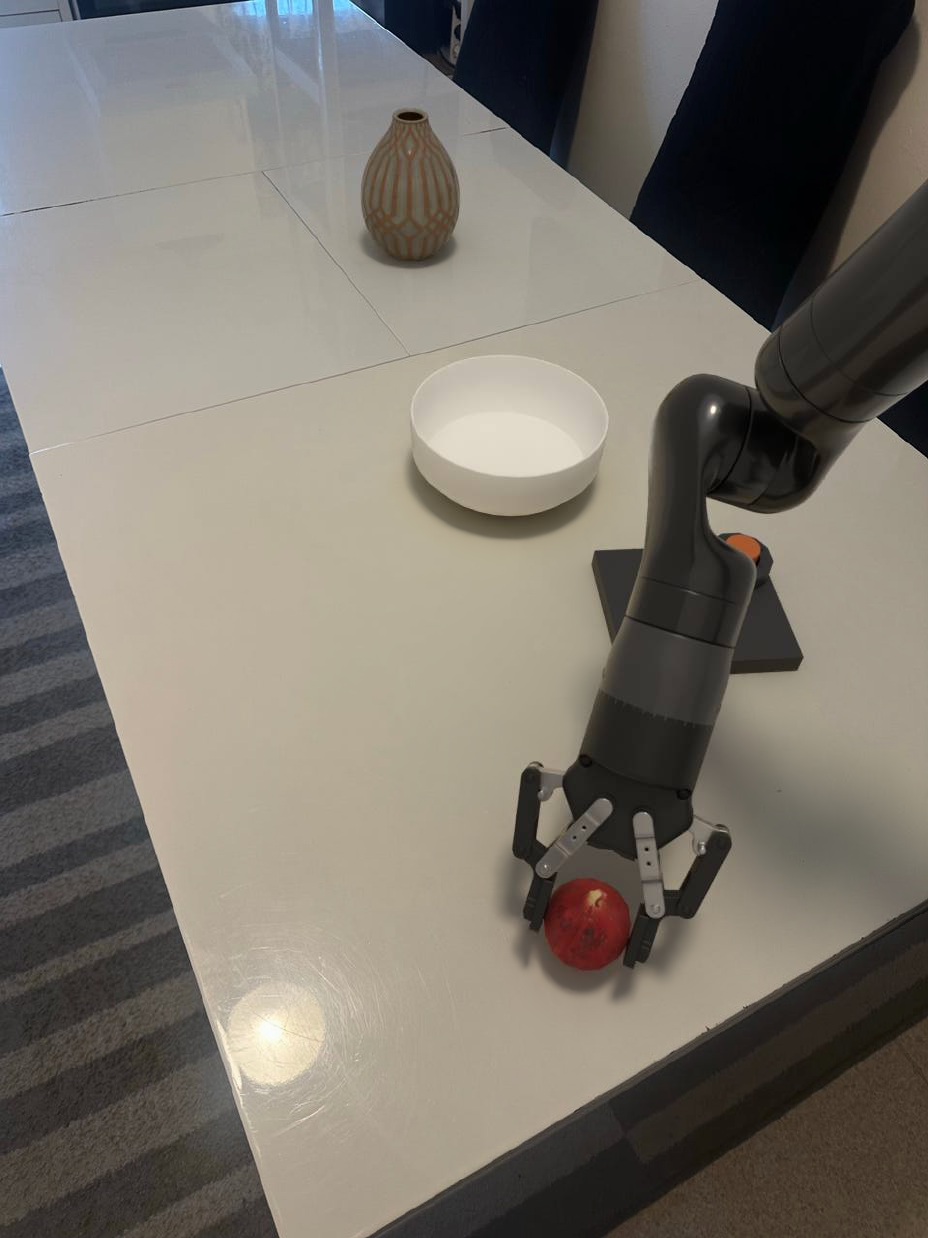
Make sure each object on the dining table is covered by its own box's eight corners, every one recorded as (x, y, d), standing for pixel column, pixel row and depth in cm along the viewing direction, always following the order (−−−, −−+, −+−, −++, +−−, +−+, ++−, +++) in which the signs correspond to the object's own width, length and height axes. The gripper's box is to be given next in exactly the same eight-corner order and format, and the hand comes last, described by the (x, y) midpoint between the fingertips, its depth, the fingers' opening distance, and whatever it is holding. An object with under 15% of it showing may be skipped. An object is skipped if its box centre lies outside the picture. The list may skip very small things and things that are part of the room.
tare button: (750, 545, 87) (754, 533, 86) (760, 569, 85) (765, 558, 84) (717, 546, 87) (721, 534, 86) (726, 571, 85) (731, 559, 84)
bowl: (513, 573, 88) (521, 508, 81) (371, 476, 96) (367, 410, 89) (633, 477, 97) (649, 412, 91) (494, 397, 106) (500, 332, 99)
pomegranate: (610, 999, 62) (630, 955, 56) (528, 970, 63) (539, 924, 57) (629, 919, 65) (649, 870, 59) (551, 893, 66) (563, 842, 60)
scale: (751, 556, 90) (761, 531, 88) (797, 670, 81) (810, 645, 79) (591, 563, 89) (596, 537, 86) (620, 679, 80) (628, 655, 77)
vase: (343, 252, 125) (335, 116, 112) (401, 217, 133) (400, 85, 119) (420, 284, 121) (421, 146, 108) (476, 245, 128) (483, 112, 115)
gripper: (540, 671, 56) (464, 927, 58) (778, 746, 53) (691, 1014, 55) (556, 661, 63) (488, 888, 65) (766, 726, 60) (689, 962, 62)
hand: (581, 944), depth 60 cm, fingers closed on pomegranate, 5 cm apart
